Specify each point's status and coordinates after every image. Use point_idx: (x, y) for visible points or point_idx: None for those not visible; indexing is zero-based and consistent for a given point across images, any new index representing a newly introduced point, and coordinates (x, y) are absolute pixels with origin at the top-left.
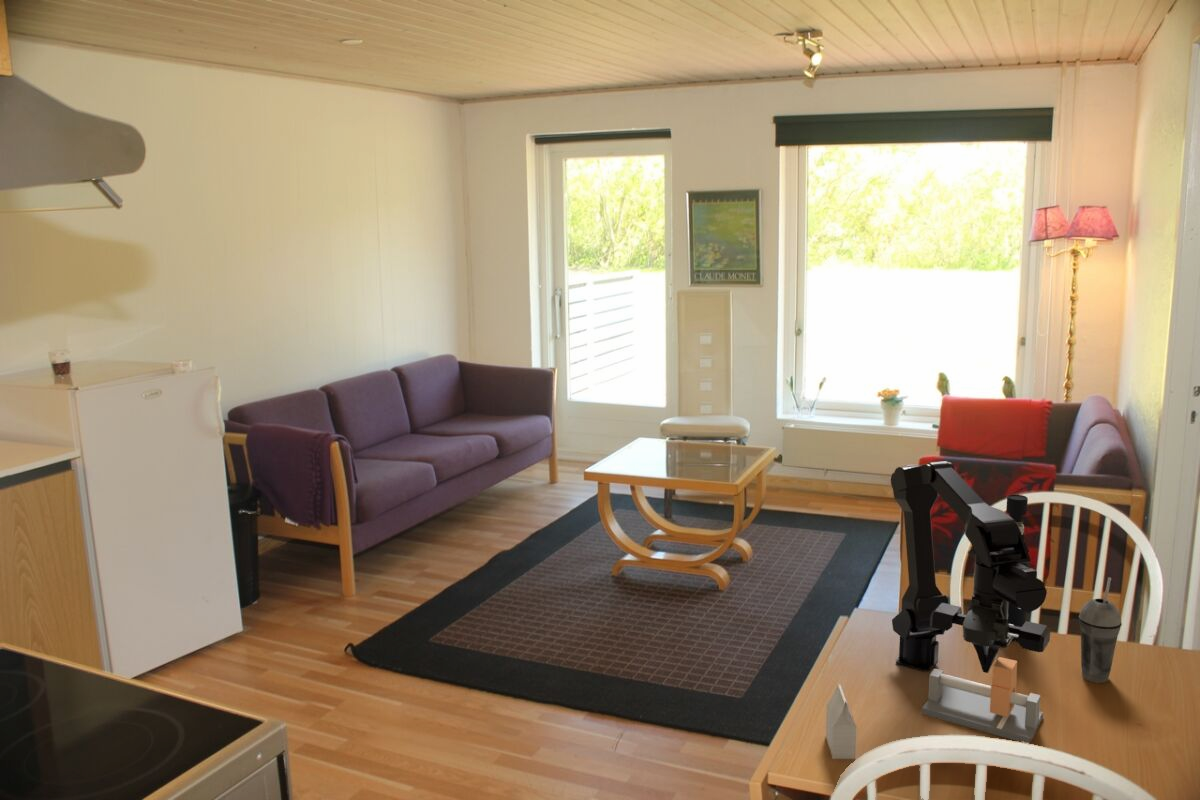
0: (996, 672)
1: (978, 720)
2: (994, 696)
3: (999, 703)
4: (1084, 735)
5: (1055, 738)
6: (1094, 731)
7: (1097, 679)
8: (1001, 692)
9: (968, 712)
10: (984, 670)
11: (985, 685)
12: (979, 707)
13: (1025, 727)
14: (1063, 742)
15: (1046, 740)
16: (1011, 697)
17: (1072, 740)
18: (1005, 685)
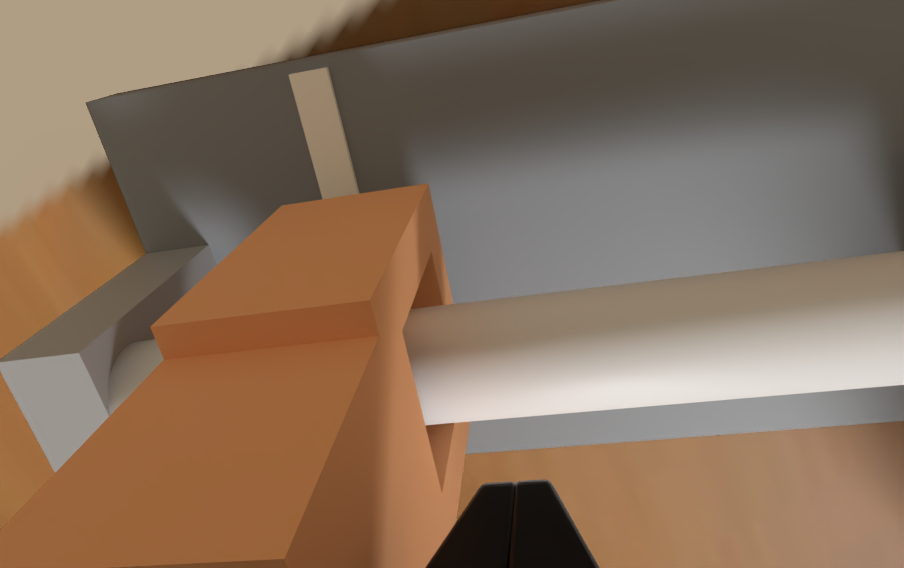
0: (266, 472)
1: (491, 79)
2: (355, 248)
3: (319, 231)
4: (12, 406)
5: (75, 281)
6: (12, 469)
7: None
8: (263, 290)
9: (613, 152)
10: (527, 499)
11: (521, 386)
12: (570, 282)
13: (192, 226)
14: (21, 267)
15: (90, 223)
16: None
17: (10, 320)
18: (206, 373)
